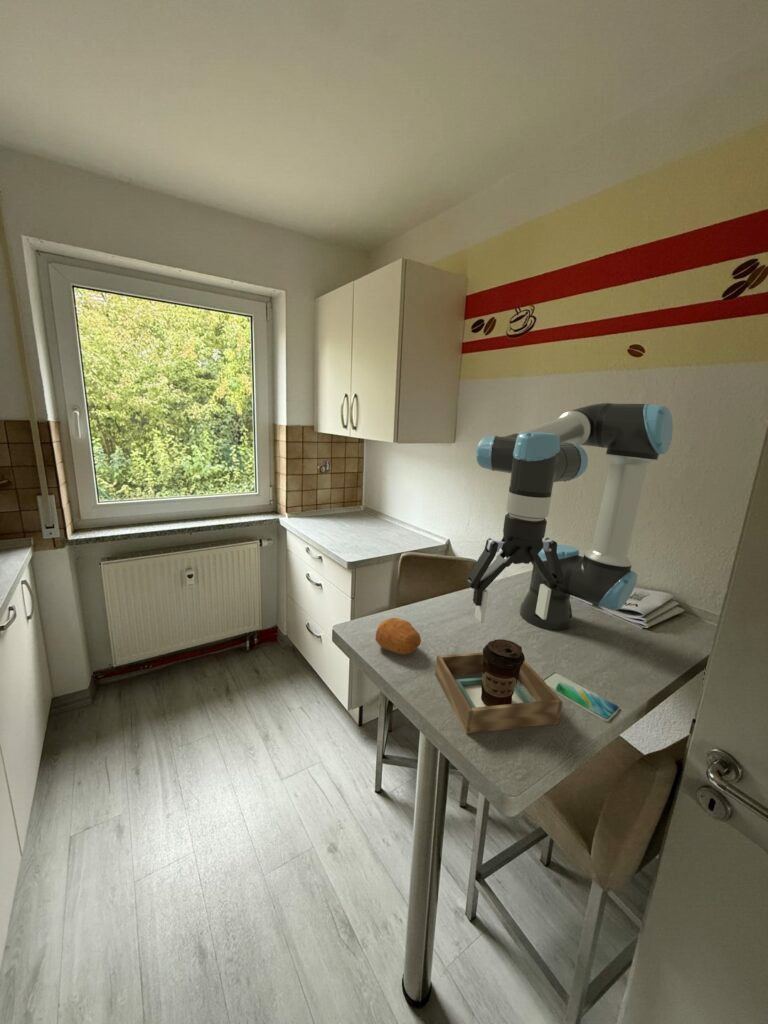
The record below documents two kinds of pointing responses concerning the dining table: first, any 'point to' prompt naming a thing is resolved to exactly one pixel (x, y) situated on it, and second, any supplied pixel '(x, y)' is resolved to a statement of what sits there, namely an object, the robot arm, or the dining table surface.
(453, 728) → the dining table surface
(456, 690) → the crate
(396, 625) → the potato
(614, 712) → the smartphone
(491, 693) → the coffee cup
